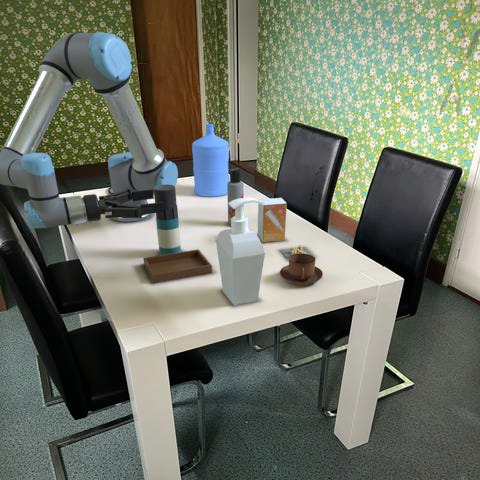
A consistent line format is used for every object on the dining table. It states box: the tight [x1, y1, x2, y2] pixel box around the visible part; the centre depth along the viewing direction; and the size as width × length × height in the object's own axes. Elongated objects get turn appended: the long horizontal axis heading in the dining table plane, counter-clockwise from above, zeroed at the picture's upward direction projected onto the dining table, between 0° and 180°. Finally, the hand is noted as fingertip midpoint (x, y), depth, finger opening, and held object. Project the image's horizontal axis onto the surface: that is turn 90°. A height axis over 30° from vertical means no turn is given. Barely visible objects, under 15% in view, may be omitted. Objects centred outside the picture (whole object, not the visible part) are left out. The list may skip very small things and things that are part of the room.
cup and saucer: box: [279, 253, 324, 285], centre depth 130 cm, size 12×12×6 cm
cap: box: [154, 185, 179, 220], centre depth 140 cm, size 6×6×9 cm
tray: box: [142, 248, 213, 284], centre depth 137 cm, size 13×17×2 cm
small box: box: [257, 197, 288, 243], centre depth 155 cm, size 8×6×13 cm
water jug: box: [191, 123, 230, 198], centre depth 198 cm, size 16×16×28 cm
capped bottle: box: [155, 216, 182, 255], centre depth 144 cm, size 7×7×15 cm
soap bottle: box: [215, 197, 266, 306], centre depth 117 cm, size 12×10×26 cm
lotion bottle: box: [226, 167, 244, 227], centre depth 165 cm, size 6×6×20 cm
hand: (158, 200), depth 138 cm, fingers open, 13 cm apart
